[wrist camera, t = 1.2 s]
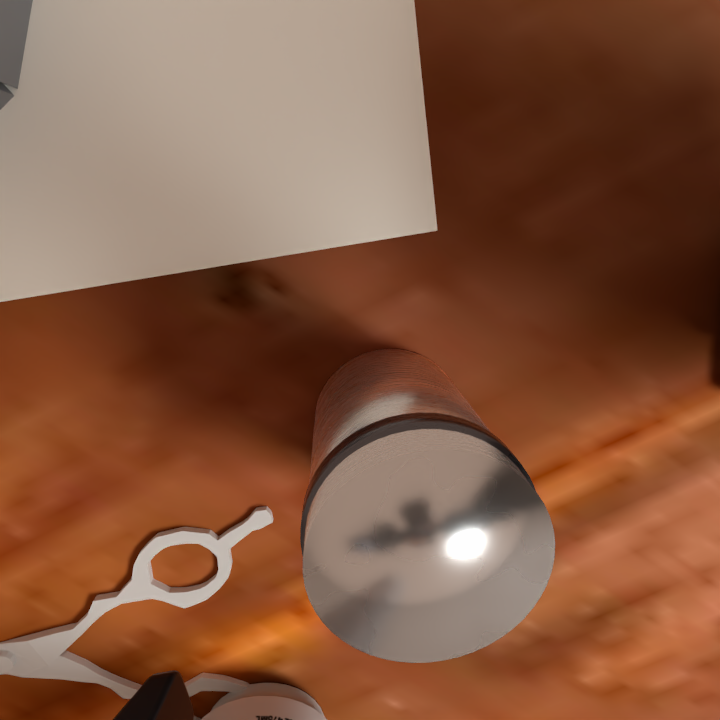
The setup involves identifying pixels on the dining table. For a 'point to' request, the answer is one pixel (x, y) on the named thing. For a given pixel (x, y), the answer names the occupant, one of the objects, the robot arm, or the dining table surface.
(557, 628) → the dining table surface
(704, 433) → the dining table surface
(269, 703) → the energy drink can
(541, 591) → the piston
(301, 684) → the dining table surface
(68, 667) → the scissors
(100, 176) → the plate
